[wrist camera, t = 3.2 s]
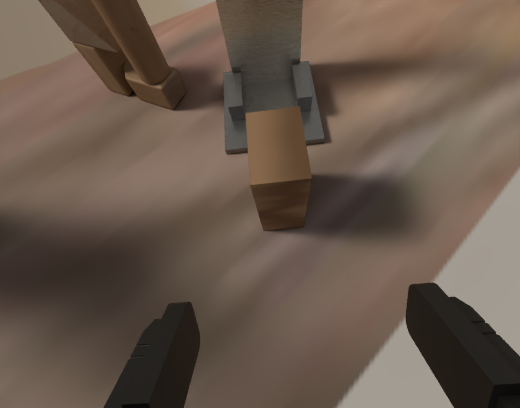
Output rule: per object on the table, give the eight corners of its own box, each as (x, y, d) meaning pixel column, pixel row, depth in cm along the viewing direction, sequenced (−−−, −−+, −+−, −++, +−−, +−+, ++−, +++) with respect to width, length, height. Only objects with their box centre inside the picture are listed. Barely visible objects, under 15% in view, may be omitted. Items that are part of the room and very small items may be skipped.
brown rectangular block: (263, 230, 27) (250, 185, 17) (259, 177, 29) (245, 113, 20) (303, 226, 26) (311, 178, 17) (296, 173, 29) (299, 106, 20)
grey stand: (226, 154, 30) (117, -132, 11) (224, 71, 36) (147, -222, 16) (323, 142, 30) (388, -185, 10) (307, 60, 35) (329, -261, 16)
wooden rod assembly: (124, 72, 38) (-5, -118, 21) (188, 91, 35) (98, -111, 19) (108, 91, 36) (-40, -95, 20) (173, 112, 34) (64, -83, 17)
